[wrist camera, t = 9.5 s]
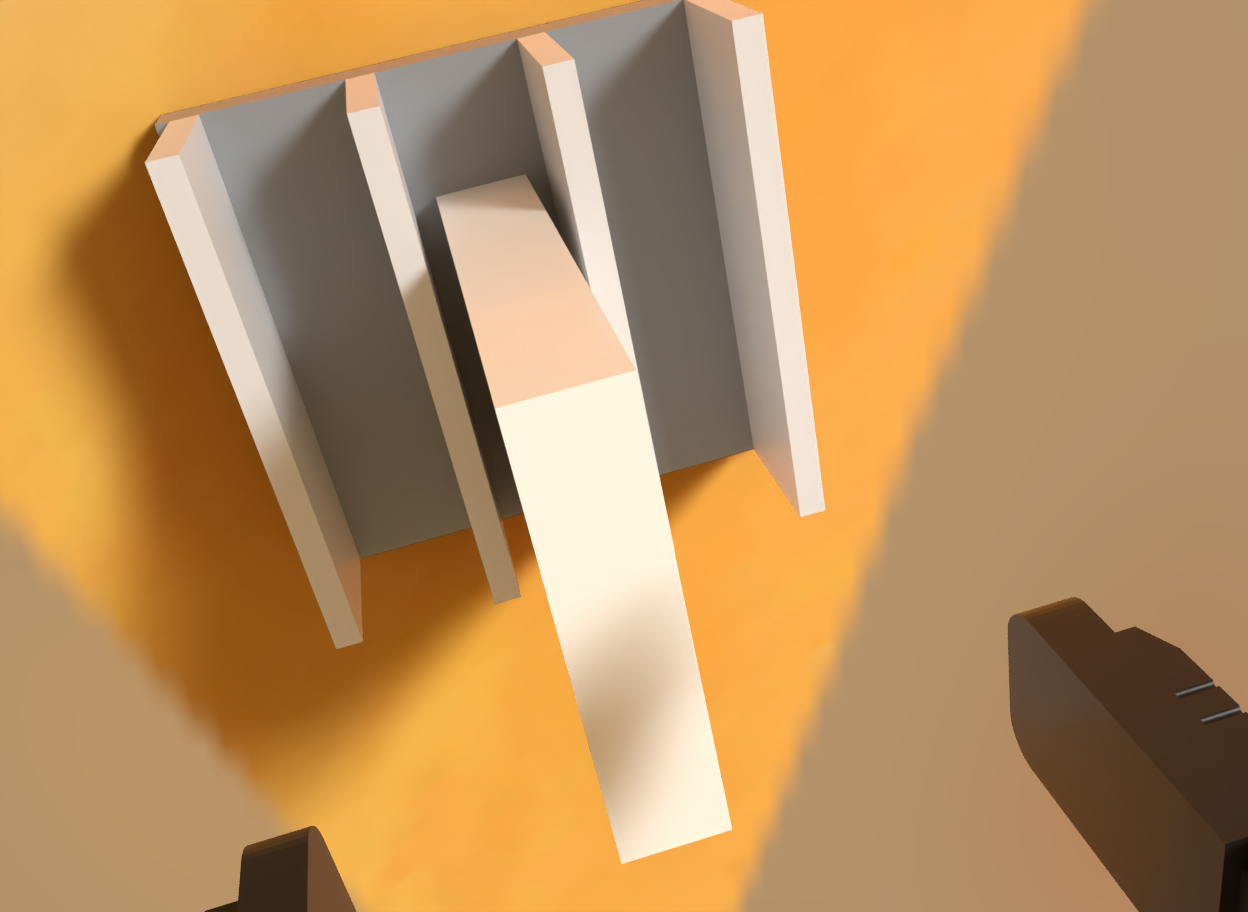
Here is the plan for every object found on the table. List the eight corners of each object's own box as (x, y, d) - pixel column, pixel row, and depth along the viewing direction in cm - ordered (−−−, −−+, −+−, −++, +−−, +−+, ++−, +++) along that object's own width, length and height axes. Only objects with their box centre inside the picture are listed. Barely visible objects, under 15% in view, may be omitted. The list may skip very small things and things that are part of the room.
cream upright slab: (435, 196, 26) (494, 408, 16) (525, 174, 26) (636, 369, 16) (530, 538, 30) (621, 863, 20) (607, 516, 30) (732, 829, 21)
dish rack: (160, 115, 25) (127, 166, 21) (711, -16, 26) (778, 9, 22) (324, 547, 30) (323, 653, 26) (774, 422, 31) (837, 506, 27)
